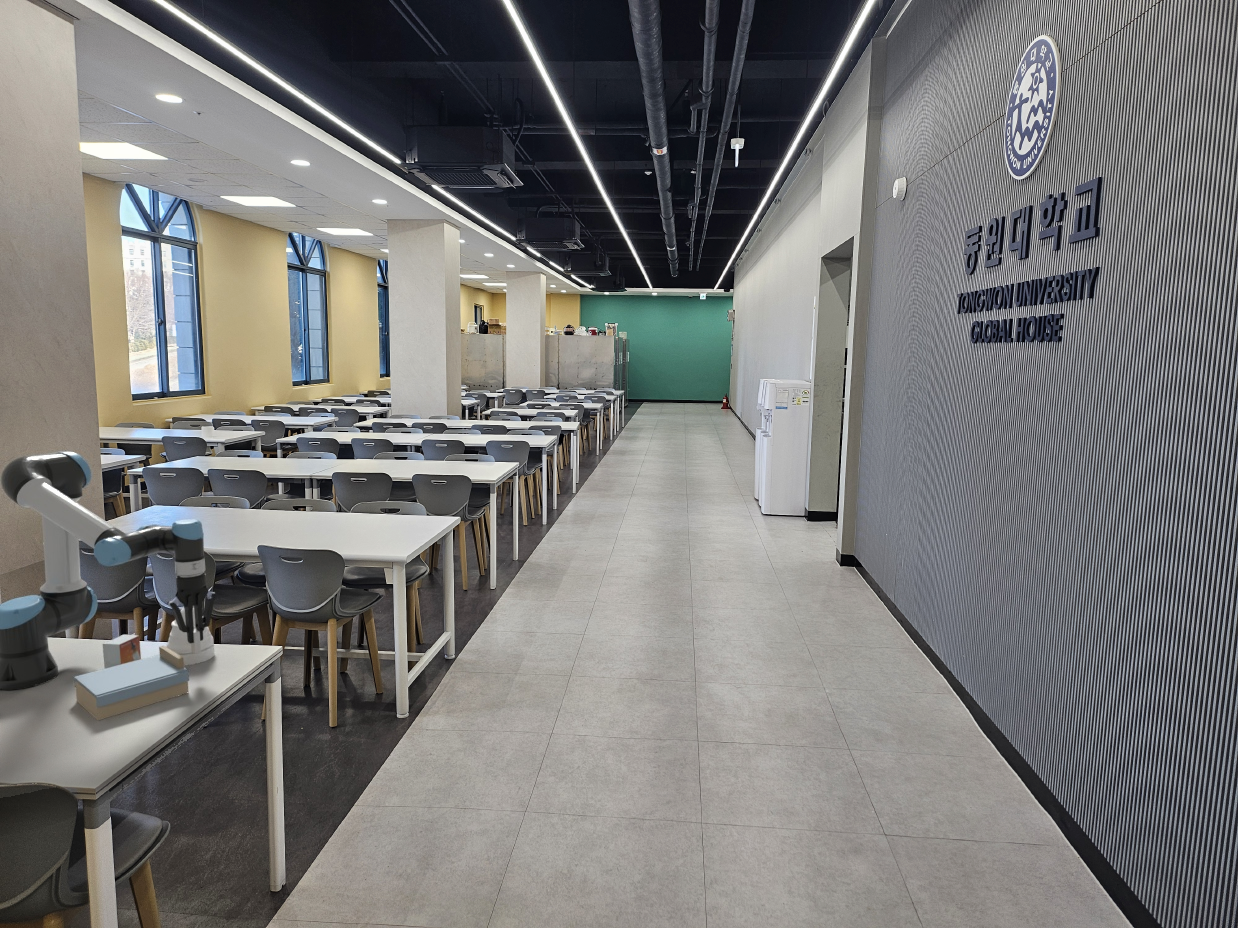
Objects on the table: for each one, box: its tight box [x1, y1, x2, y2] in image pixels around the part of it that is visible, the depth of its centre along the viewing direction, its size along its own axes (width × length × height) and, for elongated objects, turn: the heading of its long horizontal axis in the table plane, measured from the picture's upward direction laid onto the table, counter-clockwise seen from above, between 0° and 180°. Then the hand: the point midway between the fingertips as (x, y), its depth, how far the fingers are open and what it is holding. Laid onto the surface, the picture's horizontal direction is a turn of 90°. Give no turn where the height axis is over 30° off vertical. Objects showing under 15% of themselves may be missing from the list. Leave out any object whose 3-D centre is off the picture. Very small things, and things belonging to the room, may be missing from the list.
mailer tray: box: [74, 680, 190, 721], centre depth 213 cm, size 17×22×6 cm
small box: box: [102, 634, 142, 669], centre depth 229 cm, size 8×6×10 cm
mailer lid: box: [73, 645, 190, 707], centre depth 213 cm, size 19×22×6 cm
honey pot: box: [166, 606, 215, 666], centre depth 241 cm, size 13×13×18 cm
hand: (196, 652), depth 226 cm, fingers closed
